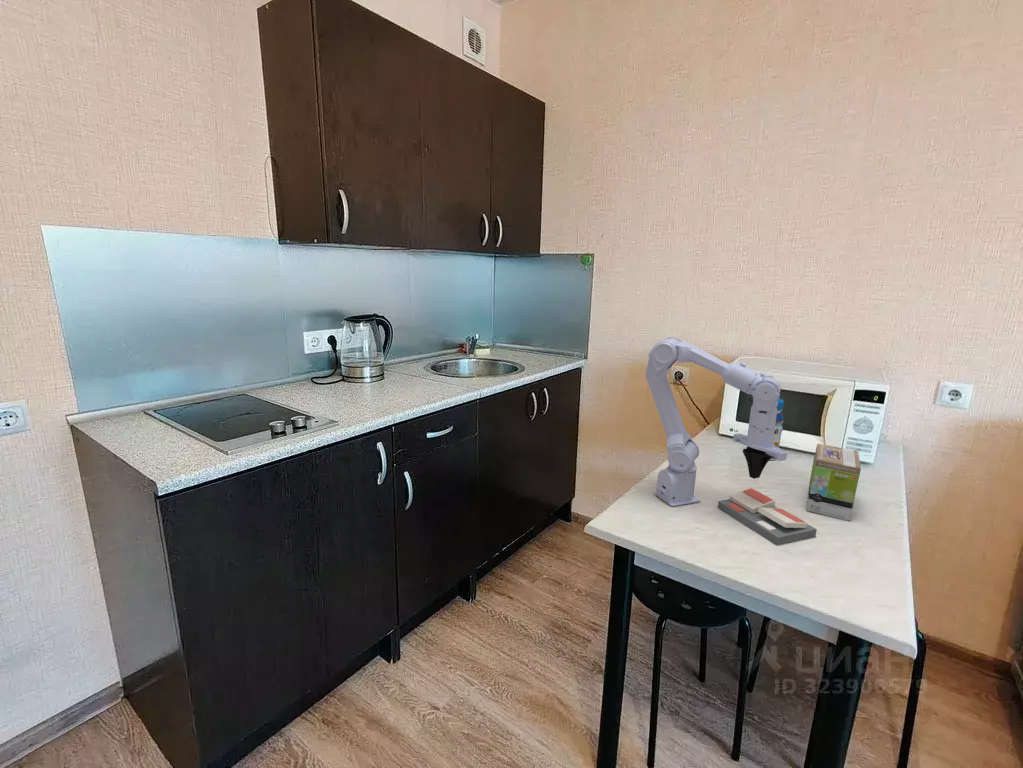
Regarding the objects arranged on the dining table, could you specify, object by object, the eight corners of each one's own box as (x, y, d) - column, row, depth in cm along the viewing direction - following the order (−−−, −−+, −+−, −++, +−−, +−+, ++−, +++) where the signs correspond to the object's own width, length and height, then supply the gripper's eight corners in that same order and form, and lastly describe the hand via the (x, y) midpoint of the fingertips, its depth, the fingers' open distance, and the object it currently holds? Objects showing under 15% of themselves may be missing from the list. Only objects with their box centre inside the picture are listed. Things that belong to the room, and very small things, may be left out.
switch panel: (776, 545, 114) (778, 535, 114) (717, 507, 132) (718, 498, 131) (815, 536, 118) (817, 526, 118) (753, 501, 136) (754, 492, 135)
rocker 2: (785, 527, 115) (786, 522, 115) (757, 511, 123) (759, 506, 122) (806, 528, 118) (807, 523, 118) (778, 512, 125) (779, 507, 125)
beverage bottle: (781, 456, 169) (790, 399, 164) (773, 463, 163) (782, 404, 158) (755, 449, 174) (763, 394, 170) (746, 456, 168) (754, 399, 164)
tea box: (851, 522, 126) (862, 467, 122) (805, 511, 131) (814, 458, 127) (849, 499, 138) (859, 449, 134) (807, 490, 143) (815, 441, 140)
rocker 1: (753, 513, 124) (753, 509, 124) (729, 499, 132) (729, 495, 131) (774, 504, 126) (774, 500, 126) (750, 491, 134) (750, 487, 133)
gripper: (799, 433, 117) (790, 486, 121) (750, 416, 131) (744, 464, 134) (777, 436, 115) (769, 490, 118) (729, 418, 128) (723, 467, 131)
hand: (754, 477), depth 126 cm, fingers closed
